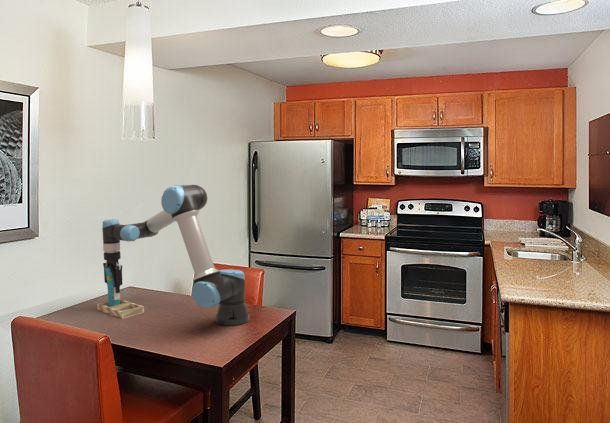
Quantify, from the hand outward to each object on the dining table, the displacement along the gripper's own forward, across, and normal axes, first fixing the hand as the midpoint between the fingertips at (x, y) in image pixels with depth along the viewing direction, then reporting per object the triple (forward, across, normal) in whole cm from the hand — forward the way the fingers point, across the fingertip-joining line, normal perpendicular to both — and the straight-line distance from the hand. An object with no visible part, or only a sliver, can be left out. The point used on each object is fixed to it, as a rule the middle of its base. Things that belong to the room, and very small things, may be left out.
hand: (114, 298), depth 229 cm
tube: (+3, 0, 0) cm, 3 cm away
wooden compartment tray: (+5, -5, 0) cm, 8 cm away
